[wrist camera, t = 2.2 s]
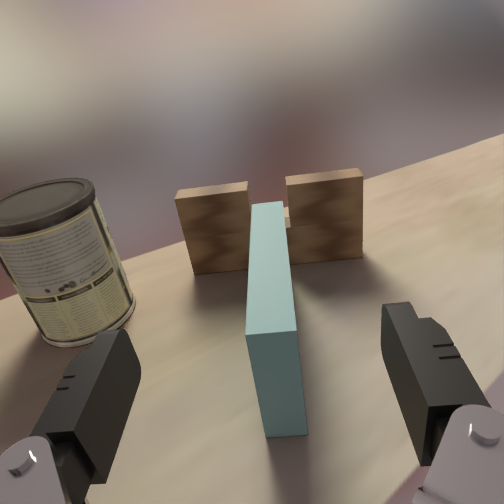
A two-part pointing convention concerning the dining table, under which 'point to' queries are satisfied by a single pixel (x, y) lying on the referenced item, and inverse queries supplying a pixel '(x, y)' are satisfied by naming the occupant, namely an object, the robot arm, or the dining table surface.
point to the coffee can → (63, 261)
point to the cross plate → (273, 325)
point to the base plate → (297, 224)
